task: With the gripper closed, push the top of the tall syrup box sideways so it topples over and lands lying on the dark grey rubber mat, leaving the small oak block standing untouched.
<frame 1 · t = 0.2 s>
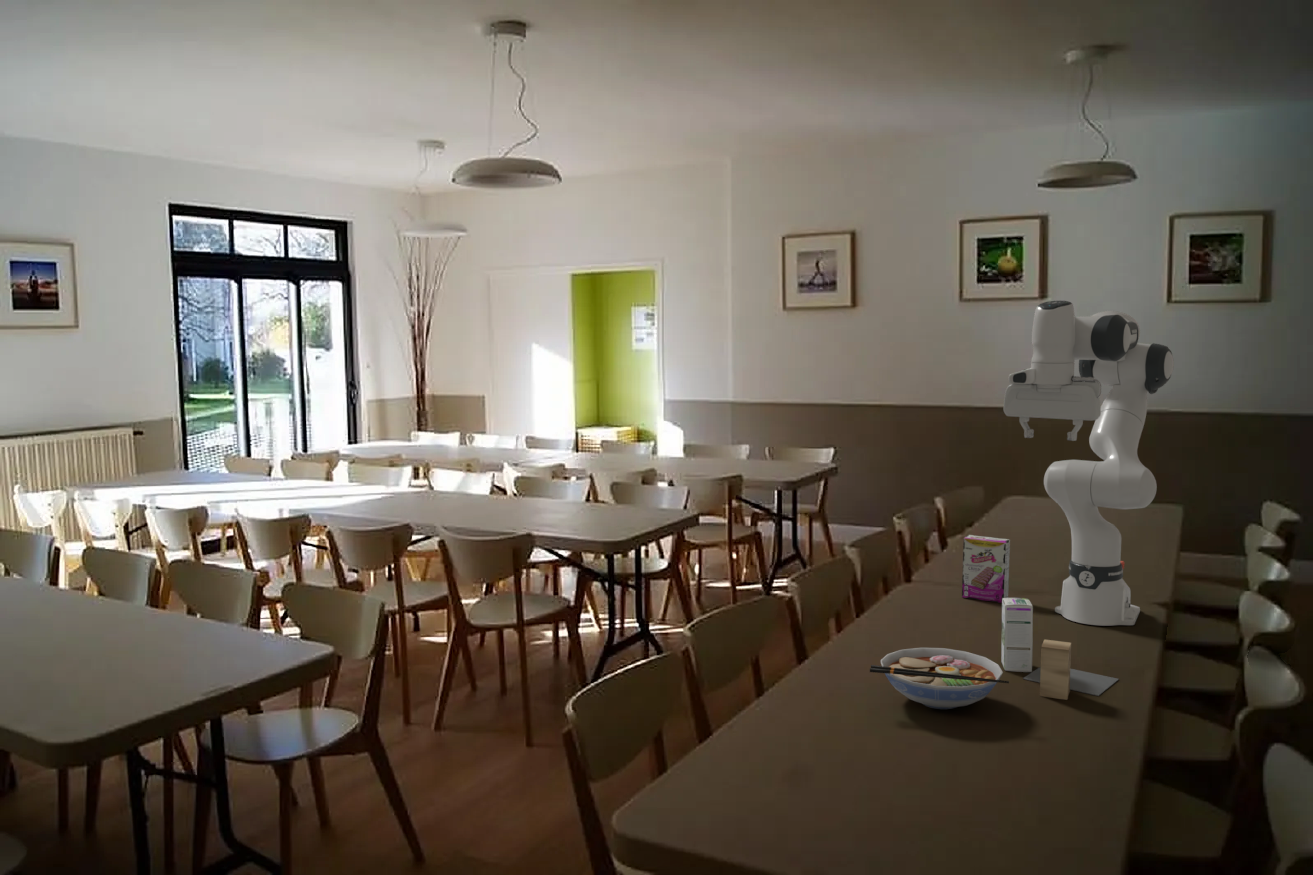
hand: (1050, 439, 223), 47 cm above the table, fingers open, 8 cm apart
rubber mat: (1070, 679, 209), on the table
ramen bowl: (939, 703, 197), on the table
syrup box: (1015, 668, 216), on the table
candy bar box: (984, 599, 270), on the table
oak block: (1054, 693, 201), on the table
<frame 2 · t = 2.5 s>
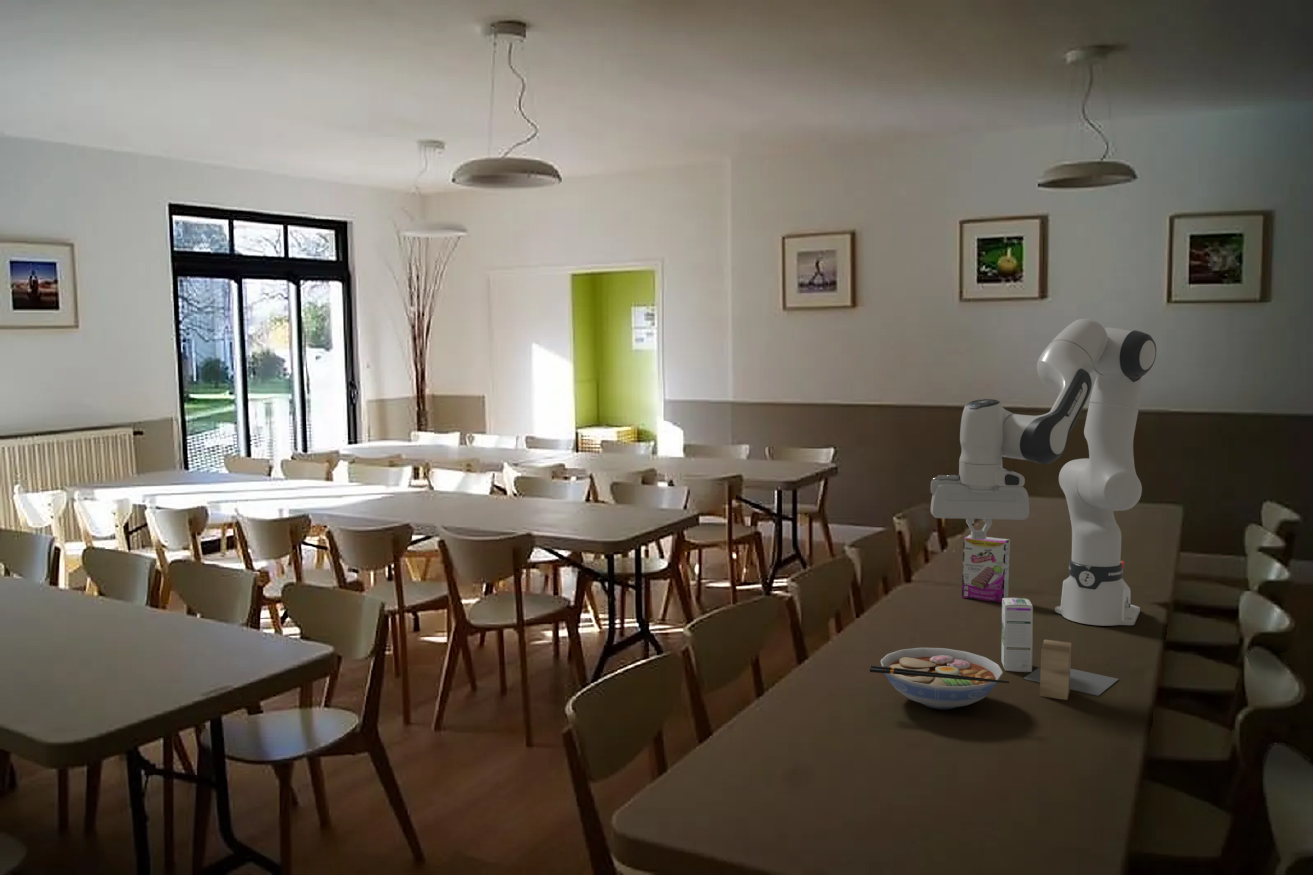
hand: (978, 538, 219), 27 cm above the table, fingers closed
nothing on the table moved.
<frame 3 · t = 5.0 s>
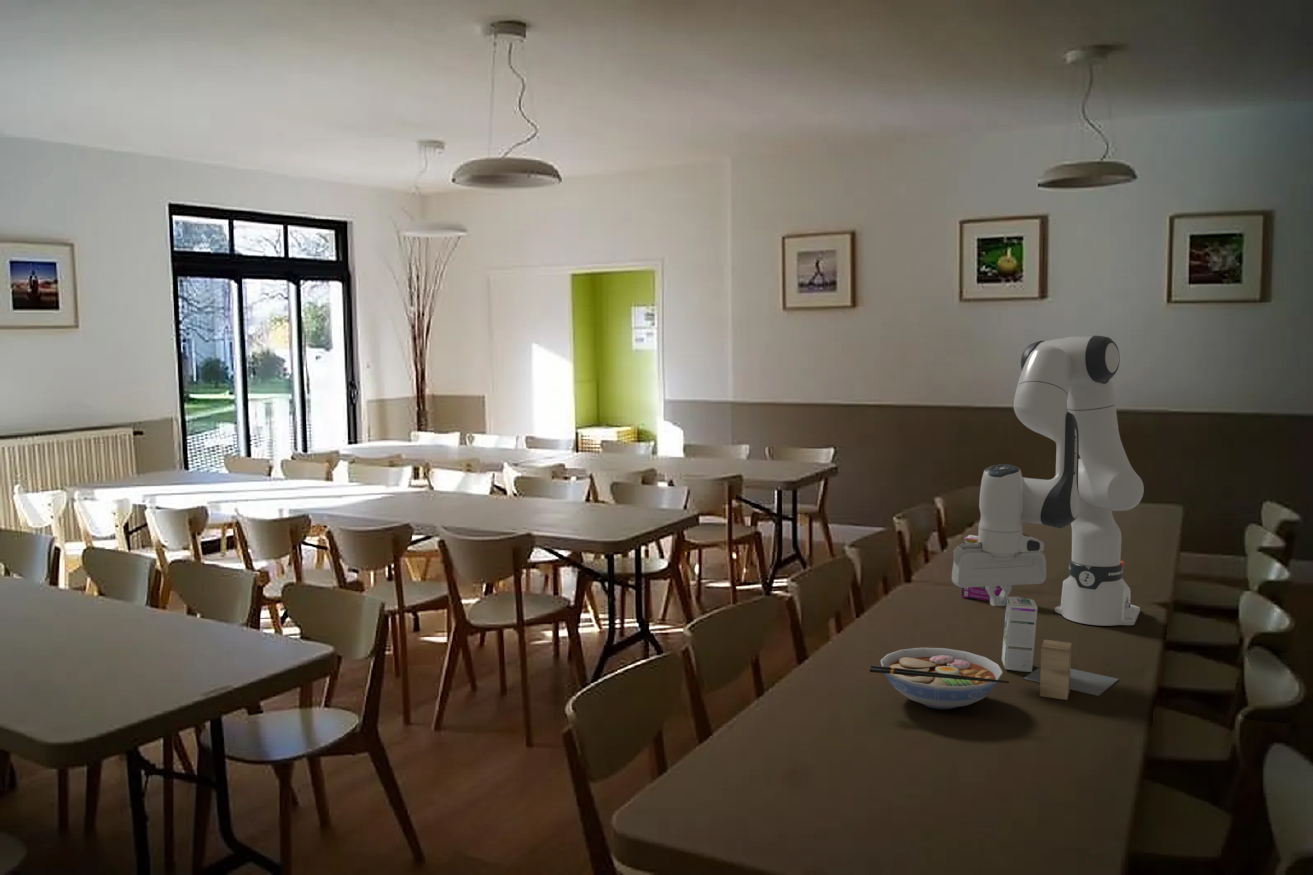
hand: (997, 605, 218), 13 cm above the table, fingers closed
syrup box: (1015, 667, 216), on the table, touching gripper
everything else where it was.
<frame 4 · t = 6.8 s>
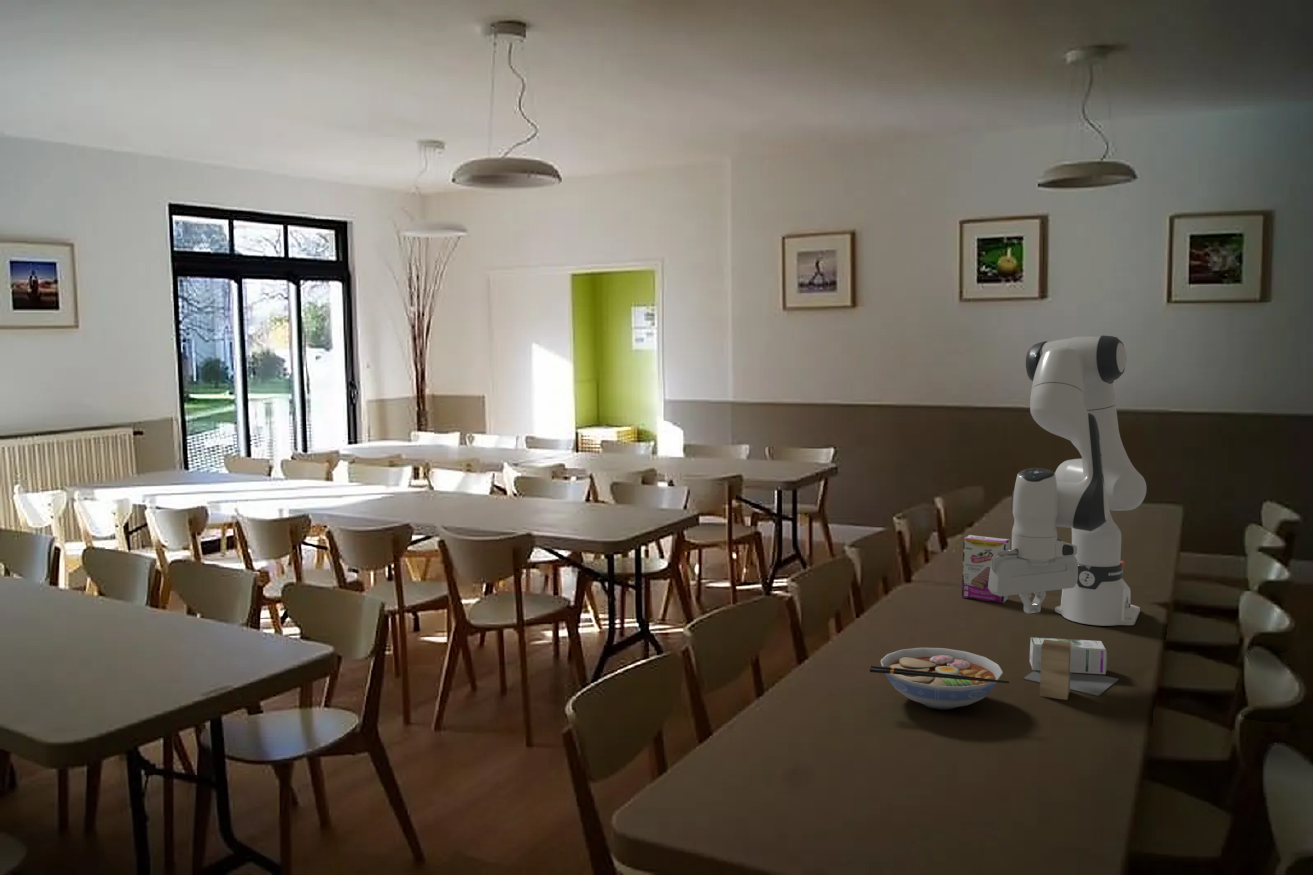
hand: (1032, 612, 213), 13 cm above the table, fingers closed
syrup box: (1030, 653, 216), point 3 cm above the table, touching rubber mat
everything else where it was.
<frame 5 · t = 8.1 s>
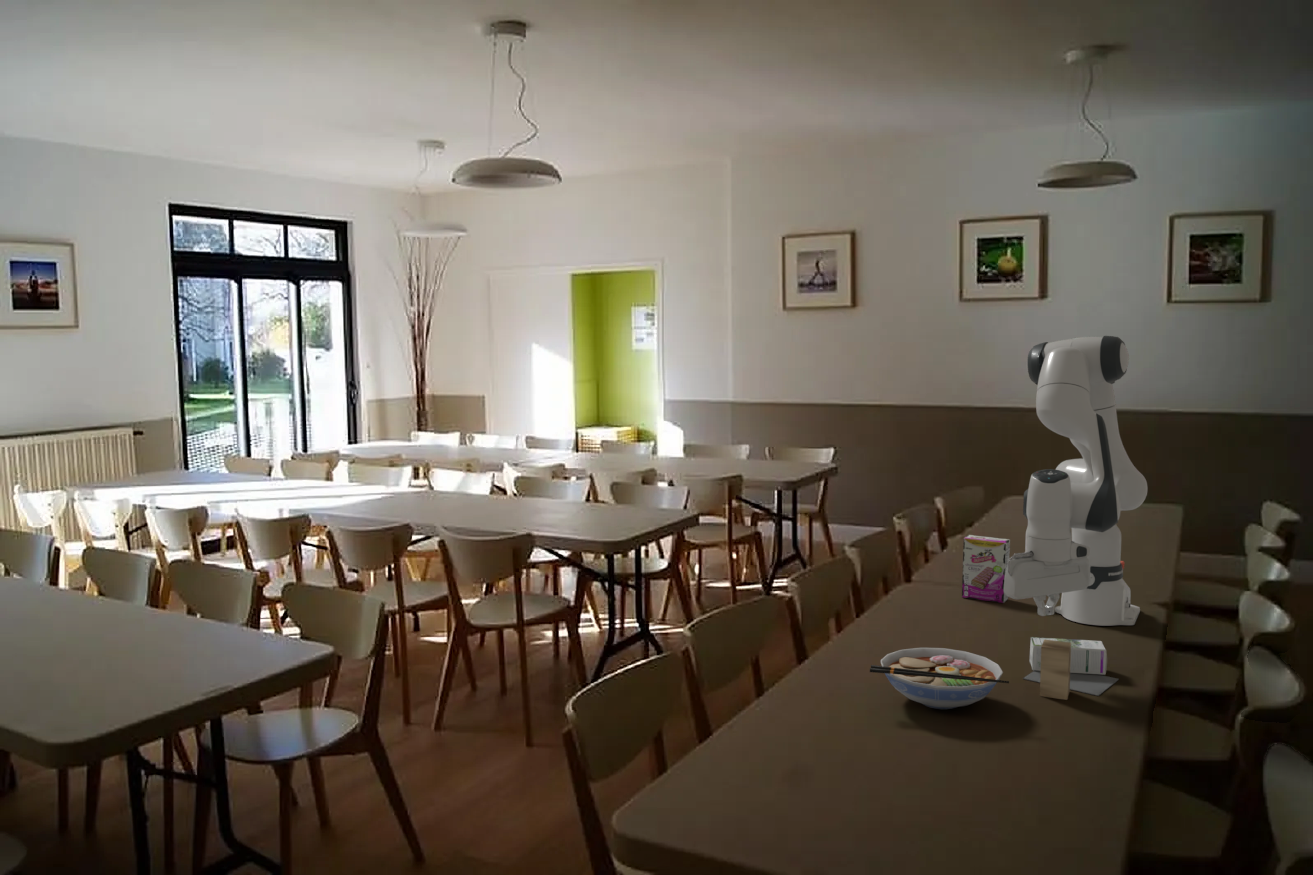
hand: (1045, 614, 211), 13 cm above the table, fingers closed
nothing on the table moved.
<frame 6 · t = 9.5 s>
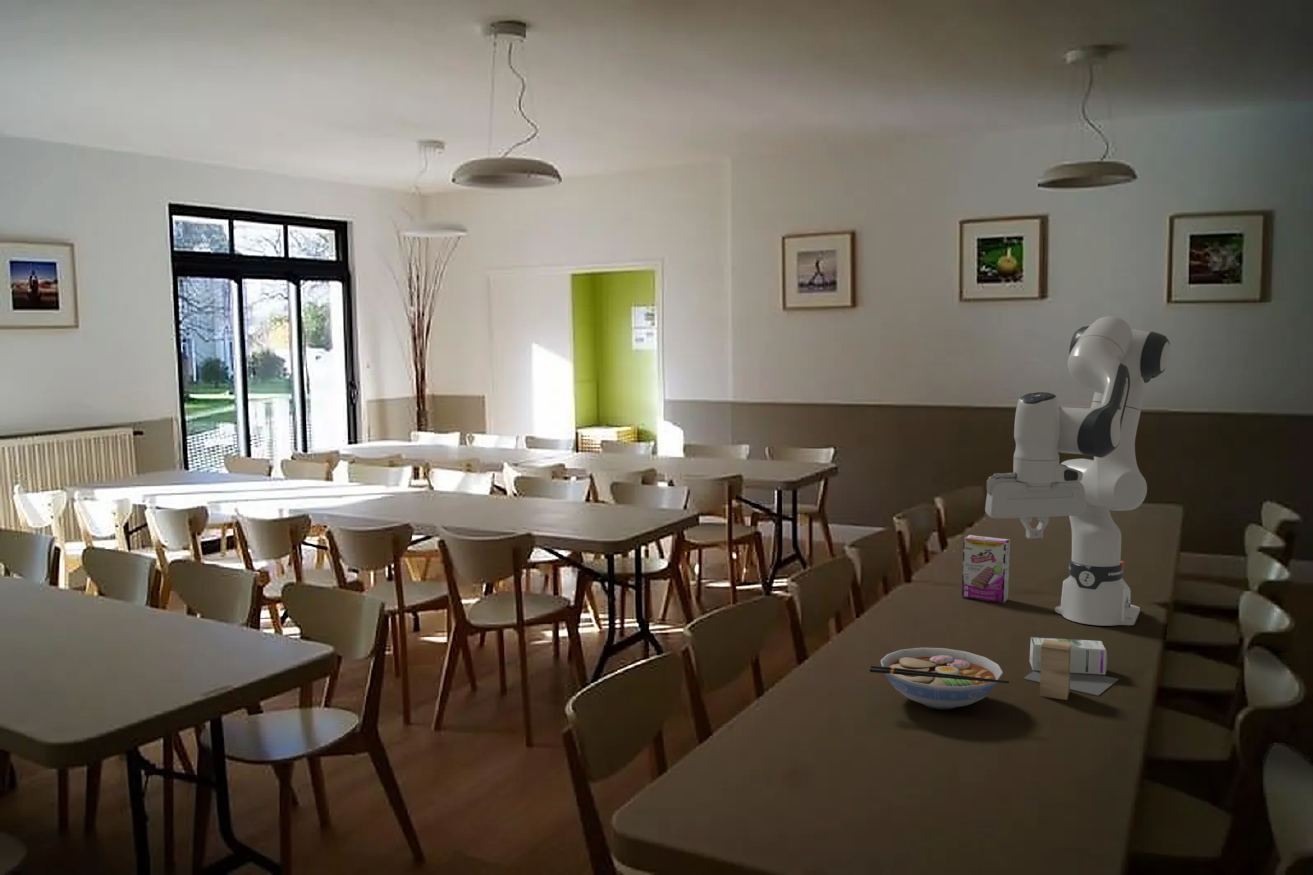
hand: (1034, 537, 211), 28 cm above the table, fingers closed
nothing on the table moved.
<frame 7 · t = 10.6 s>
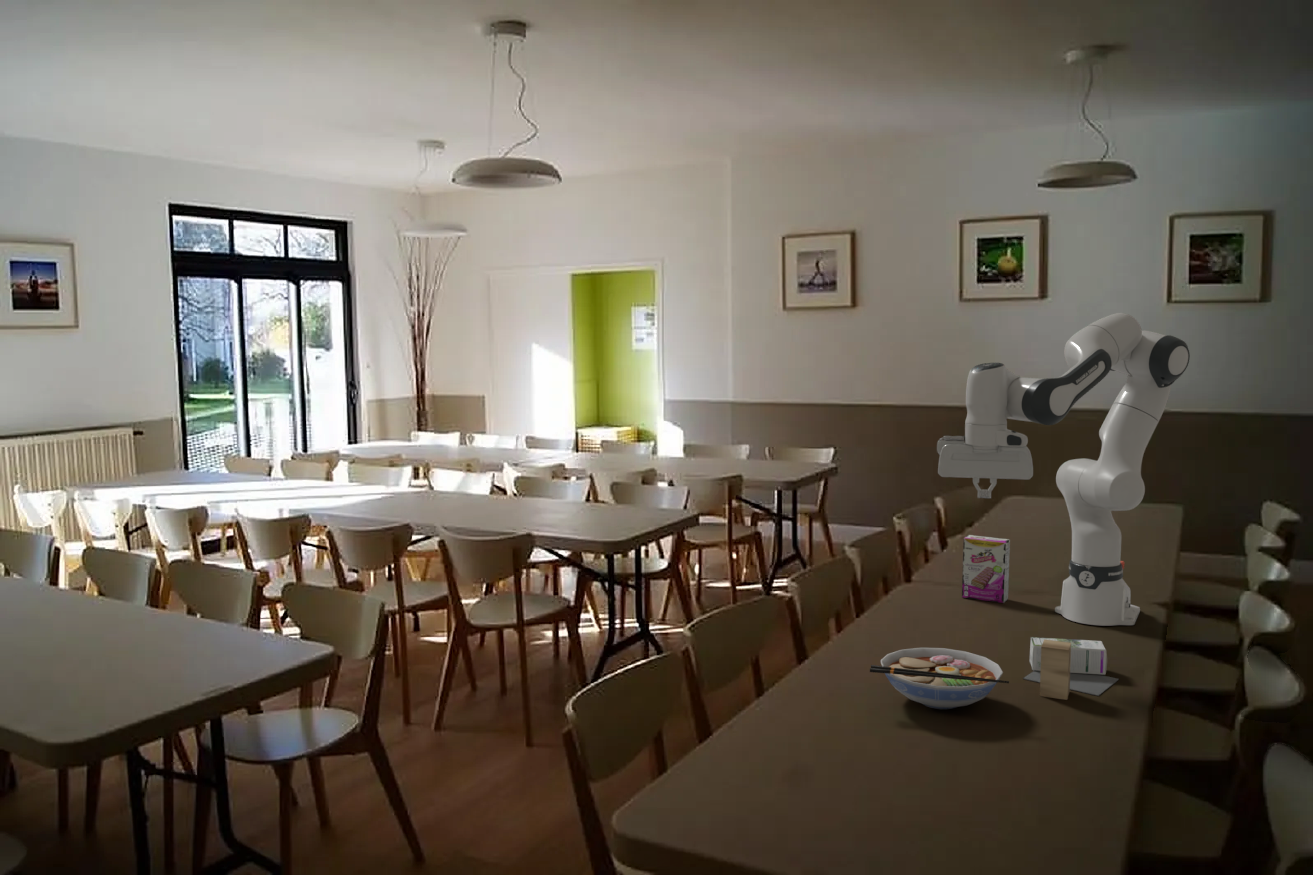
hand: (984, 497, 227), 34 cm above the table, fingers closed
nothing on the table moved.
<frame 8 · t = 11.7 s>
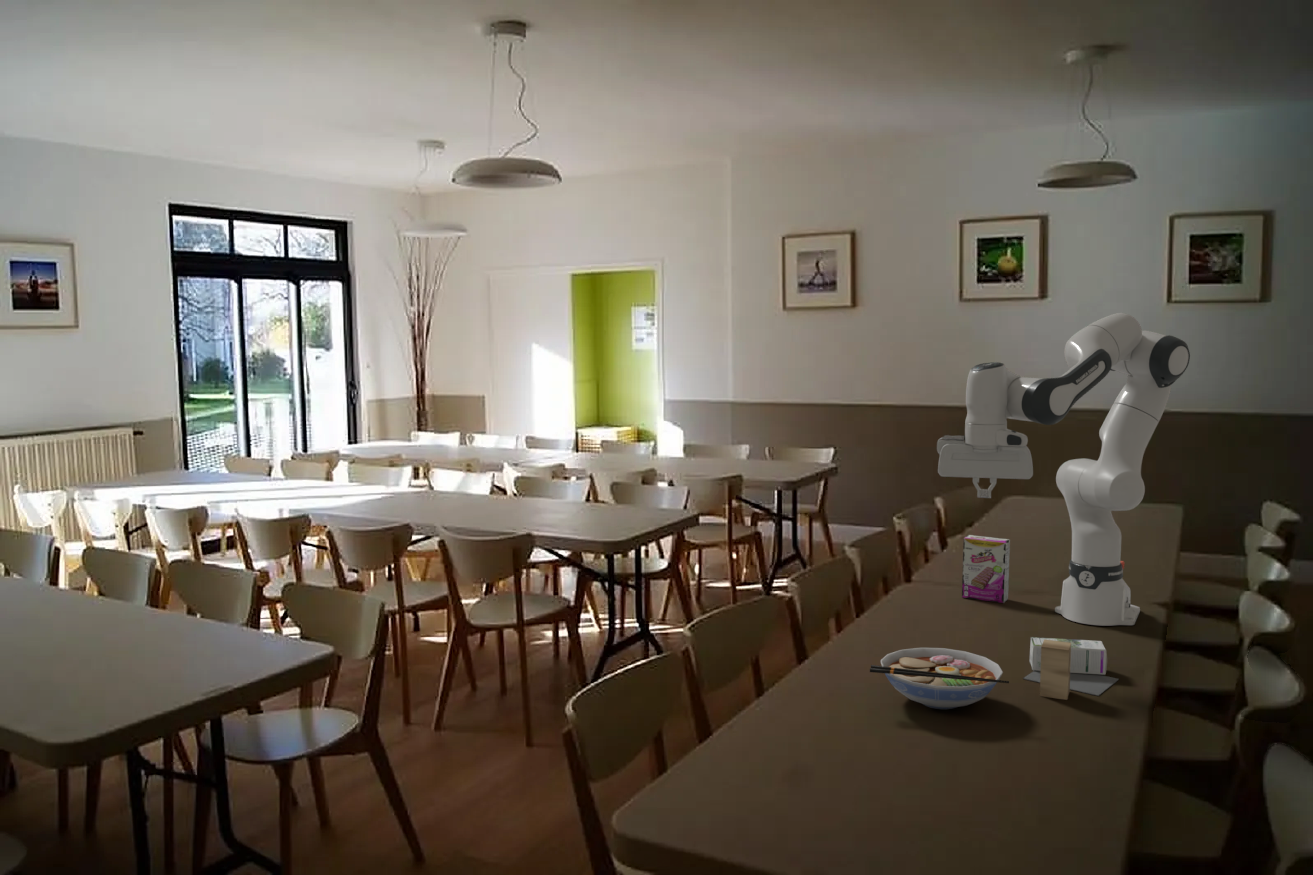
hand: (984, 497, 227), 34 cm above the table, fingers closed
nothing on the table moved.
at the end: syrup box tilted 90°; syrup box inside the target area (3.8 cm from its centre), point 3.2 cm above the table; oak block tilted 0° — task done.
